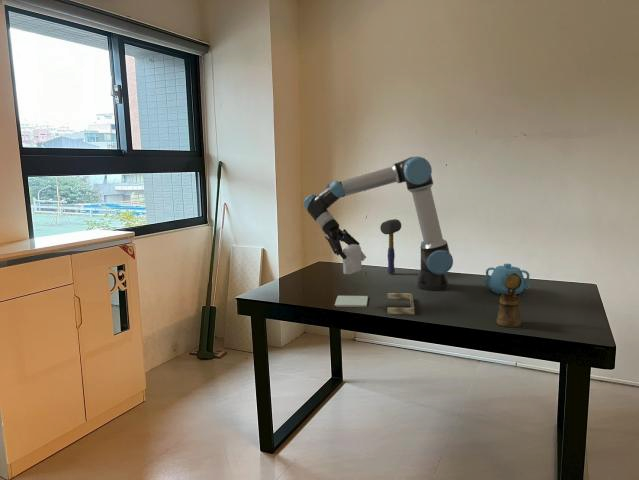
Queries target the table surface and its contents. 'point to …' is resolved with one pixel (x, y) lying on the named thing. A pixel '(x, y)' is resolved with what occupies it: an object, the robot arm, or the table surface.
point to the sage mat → (351, 301)
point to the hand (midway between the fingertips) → (357, 261)
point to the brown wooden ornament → (510, 303)
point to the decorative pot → (499, 277)
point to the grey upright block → (355, 256)
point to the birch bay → (400, 310)
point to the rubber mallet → (390, 240)
